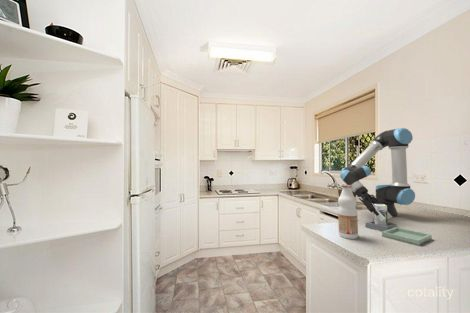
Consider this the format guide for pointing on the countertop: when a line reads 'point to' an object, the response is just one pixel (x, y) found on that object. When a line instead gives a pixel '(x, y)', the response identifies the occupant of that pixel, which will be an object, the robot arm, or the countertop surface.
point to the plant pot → (341, 191)
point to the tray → (407, 236)
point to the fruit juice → (347, 214)
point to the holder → (380, 226)
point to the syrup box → (383, 210)
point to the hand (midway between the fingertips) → (386, 218)
